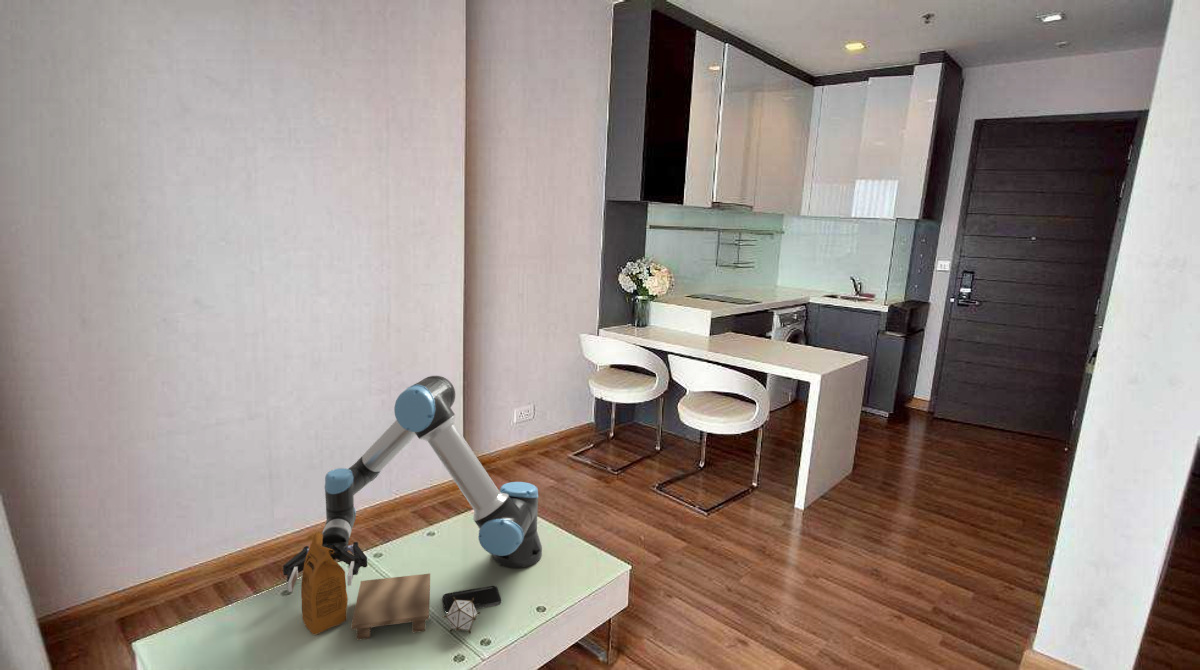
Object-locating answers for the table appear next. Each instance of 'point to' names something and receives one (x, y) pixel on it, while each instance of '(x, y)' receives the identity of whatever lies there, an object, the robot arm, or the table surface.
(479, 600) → the phone
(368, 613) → the small wooden platform
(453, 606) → the game die
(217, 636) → the table surface
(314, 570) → the coffee package
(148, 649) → the table surface
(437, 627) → the table surface
